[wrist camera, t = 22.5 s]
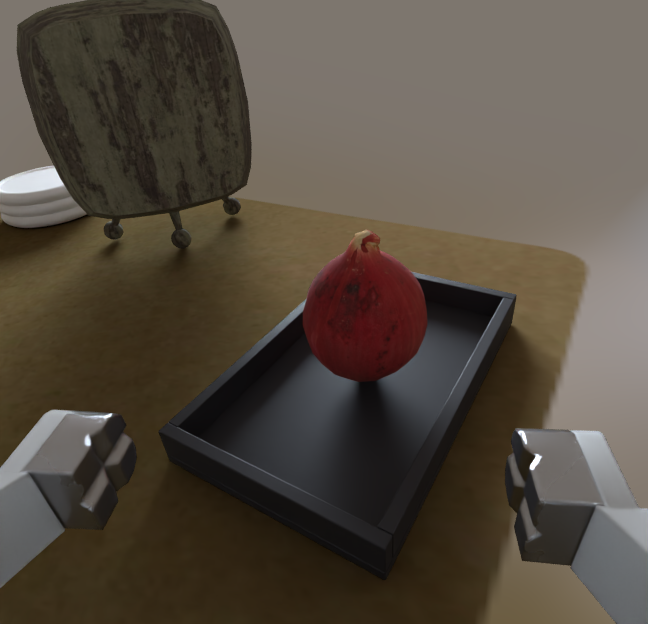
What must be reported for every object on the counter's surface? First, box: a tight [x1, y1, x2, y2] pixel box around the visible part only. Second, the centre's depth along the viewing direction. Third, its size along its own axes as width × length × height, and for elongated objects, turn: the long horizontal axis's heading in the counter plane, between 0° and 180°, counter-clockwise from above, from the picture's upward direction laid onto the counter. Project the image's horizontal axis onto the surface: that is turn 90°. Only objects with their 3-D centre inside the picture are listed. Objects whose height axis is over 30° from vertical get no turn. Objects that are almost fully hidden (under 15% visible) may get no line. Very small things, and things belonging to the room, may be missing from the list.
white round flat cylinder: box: [0, 165, 87, 228], centre depth 50 cm, size 10×10×4 cm
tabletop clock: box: [17, 0, 251, 248], centre depth 35 cm, size 14×9×25 cm, turn 111°
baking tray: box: [159, 272, 516, 580], centre depth 25 cm, size 17×11×2 cm, turn 148°
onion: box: [303, 230, 427, 382], centre depth 23 cm, size 6×6×8 cm
